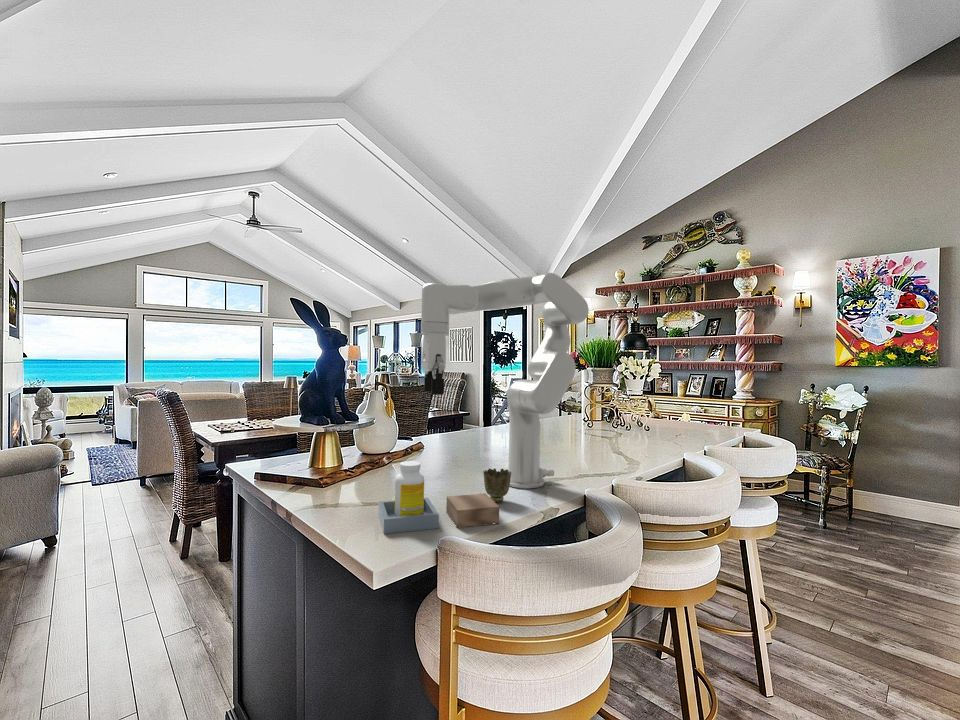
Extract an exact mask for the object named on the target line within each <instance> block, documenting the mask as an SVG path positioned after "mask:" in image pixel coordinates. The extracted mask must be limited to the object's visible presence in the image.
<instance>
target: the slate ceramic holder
mask: <svg viewBox="0 0 960 720" xmlns="http://www.w3.org/2000/svg"><path fill="white" fill-rule="evenodd" d="M439 516H440V514H439V512H438V510H437V509H436V507H435V506H434V505H433V503H432V502H431V500H430V498H429V497H424V514H420V515H409V516H398V517H395V499H393V500H392V499H391V500H382V501H378V518H379V522H380V526H381V529H382V533H383V535H386V534H395V533H397V534H398V533H404V532H405V533H406V531H407V532H414V531H415V532H416V531H425V529H427V530H435V529H434V528H437V529H440V528H439V523H440V522H439V521H440V519H439V518H440V517H439Z"/></svg>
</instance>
